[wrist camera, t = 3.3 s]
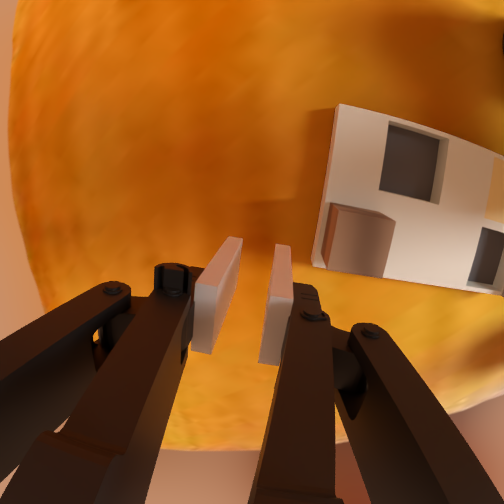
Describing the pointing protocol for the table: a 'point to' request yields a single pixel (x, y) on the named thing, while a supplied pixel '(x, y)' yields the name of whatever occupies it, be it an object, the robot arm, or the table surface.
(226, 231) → the table surface
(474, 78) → the table surface
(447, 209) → the box
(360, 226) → the block
